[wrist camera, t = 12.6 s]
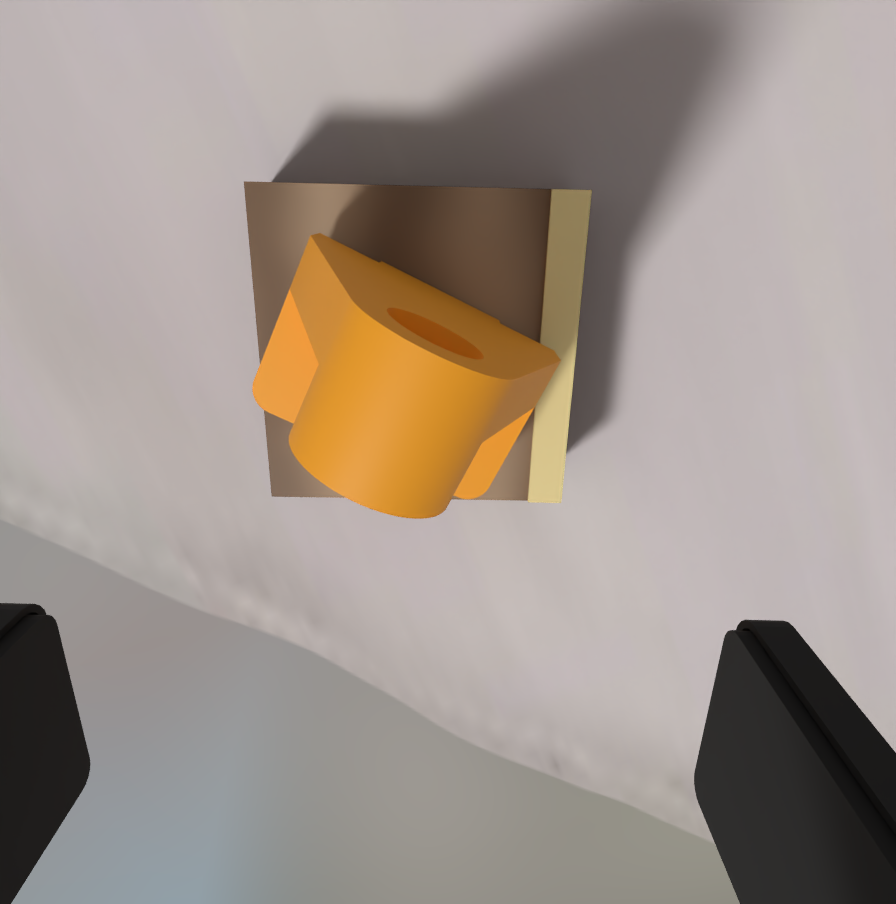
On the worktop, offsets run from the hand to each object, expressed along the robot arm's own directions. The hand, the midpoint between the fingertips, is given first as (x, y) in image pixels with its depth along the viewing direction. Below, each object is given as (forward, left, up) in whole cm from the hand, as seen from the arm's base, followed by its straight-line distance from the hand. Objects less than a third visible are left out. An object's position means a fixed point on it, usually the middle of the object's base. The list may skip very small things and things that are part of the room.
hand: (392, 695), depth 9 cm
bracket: (+1, 0, -21) cm, 21 cm away
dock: (0, 0, -25) cm, 25 cm away
